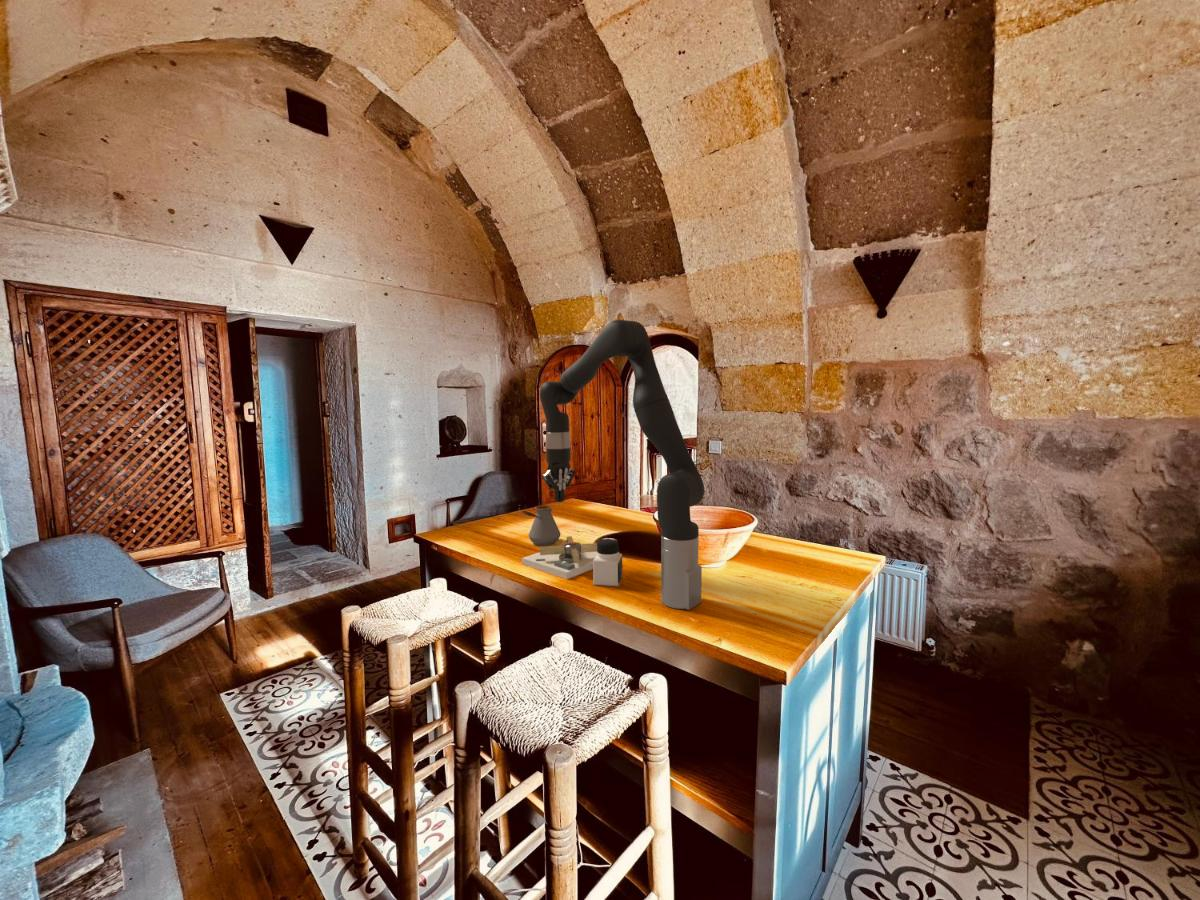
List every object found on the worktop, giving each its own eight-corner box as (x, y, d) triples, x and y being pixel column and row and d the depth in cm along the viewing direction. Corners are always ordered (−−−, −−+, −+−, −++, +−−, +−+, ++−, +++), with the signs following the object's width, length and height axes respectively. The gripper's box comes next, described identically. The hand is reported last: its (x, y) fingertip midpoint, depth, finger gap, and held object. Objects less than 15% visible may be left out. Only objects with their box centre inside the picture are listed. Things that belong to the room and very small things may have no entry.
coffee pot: (538, 536, 185) (536, 497, 183) (566, 539, 181) (565, 499, 179) (507, 554, 165) (506, 510, 163) (538, 557, 161) (537, 512, 159)
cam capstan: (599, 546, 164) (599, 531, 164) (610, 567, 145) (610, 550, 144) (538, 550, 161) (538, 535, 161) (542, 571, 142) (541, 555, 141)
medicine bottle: (618, 586, 136) (618, 544, 134) (593, 585, 137) (592, 543, 136) (622, 577, 142) (622, 536, 141) (598, 575, 144) (597, 535, 143)
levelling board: (609, 562, 156) (609, 550, 155) (566, 579, 142) (566, 566, 141) (565, 549, 169) (565, 539, 168) (522, 564, 155) (521, 552, 154)
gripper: (551, 449, 145) (552, 507, 147) (581, 445, 155) (583, 499, 157) (534, 447, 150) (535, 503, 152) (564, 444, 160) (566, 496, 162)
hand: (559, 501), depth 154 cm, fingers closed
